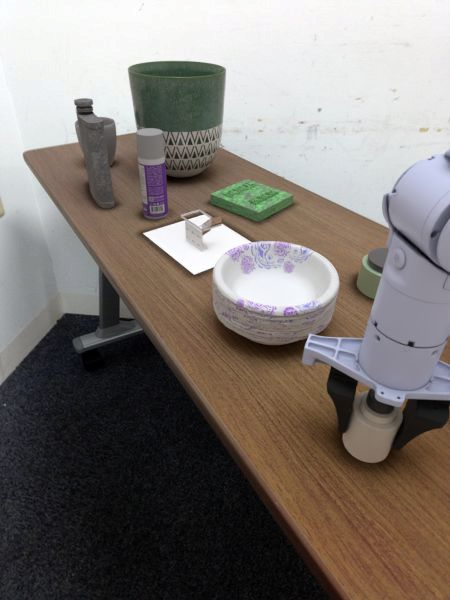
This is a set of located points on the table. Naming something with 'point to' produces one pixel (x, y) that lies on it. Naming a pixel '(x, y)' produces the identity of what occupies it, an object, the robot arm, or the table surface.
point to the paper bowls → (274, 291)
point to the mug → (109, 136)
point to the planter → (181, 110)
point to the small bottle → (371, 428)
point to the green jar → (371, 271)
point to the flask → (95, 153)
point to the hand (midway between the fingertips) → (368, 432)
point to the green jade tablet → (251, 199)
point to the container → (152, 172)
